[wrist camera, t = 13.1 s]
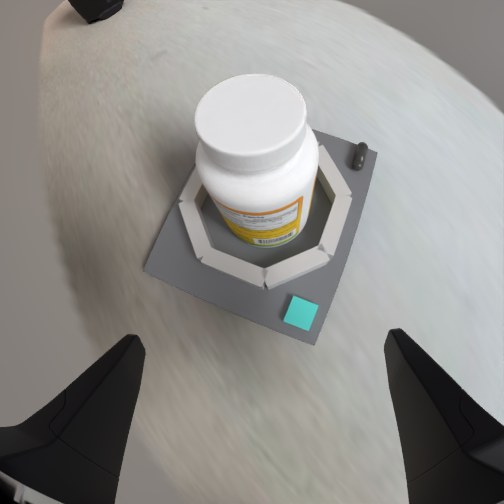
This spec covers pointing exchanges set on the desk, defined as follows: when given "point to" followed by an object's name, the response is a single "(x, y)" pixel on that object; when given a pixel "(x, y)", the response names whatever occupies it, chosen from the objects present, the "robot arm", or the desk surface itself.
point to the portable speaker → (96, 8)
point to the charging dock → (269, 259)
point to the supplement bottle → (257, 157)
